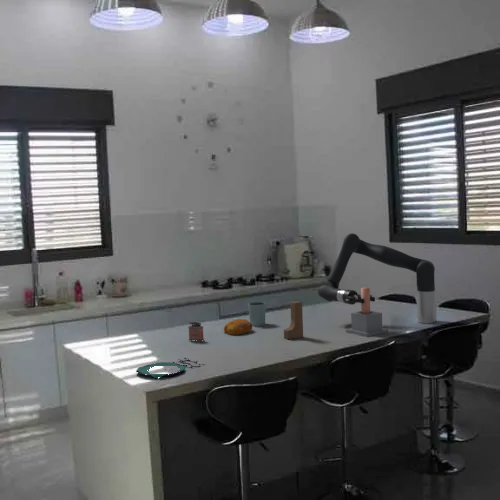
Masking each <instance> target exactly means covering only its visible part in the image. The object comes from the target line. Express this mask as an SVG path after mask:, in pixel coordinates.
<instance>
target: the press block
mask: <svg viewBox="0 0 500 500" xmlns="http://www.w3.org/2000/svg"><path fill="white" fill-rule="evenodd" d="M350 317H351V318H350V322H351V327H350V328H346V329H345V331H346V333H349V334H353V335H357V336H360V337H361V336H362V337H365V338H369V337H372V336H376V335H382V334H386V333H388V332H389V329H388V328H385V327H384V328H383V312H380V311H376V310H375V311H374V310H370V314H362V310H360V311H354V312H351V313H350Z"/></svg>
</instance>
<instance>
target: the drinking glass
mask: <svg viewBox="0 0 500 500" xmlns="http://www.w3.org/2000/svg"><path fill="white" fill-rule="evenodd" d="M247 307H248V317H249V322H250V323H251V324H252V327H261V326H265V325H266V312H267V311H266V309H267V303H266V302H264V301H263V302H262V301H254V302H249V303H247Z"/></svg>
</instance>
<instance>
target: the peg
mask: <svg viewBox="0 0 500 500" xmlns="http://www.w3.org/2000/svg"><path fill="white" fill-rule="evenodd" d="M360 294H361V299H364V303H360V304H361V306H360V308H361V311H362V314H370V311H371V301H370V295H371V289H370V287H365V286H364V287H360Z"/></svg>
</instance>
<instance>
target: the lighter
mask: <svg viewBox="0 0 500 500" xmlns="http://www.w3.org/2000/svg"><path fill="white" fill-rule="evenodd" d="M187 329H188V341H189V340H195V341H194V342H203V341H202V340H204V341H205V339H204V325H202V322H201V321H198V320H195V321H194V320H193V321H189V325H188V328H187ZM196 340H197V341H196Z"/></svg>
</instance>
